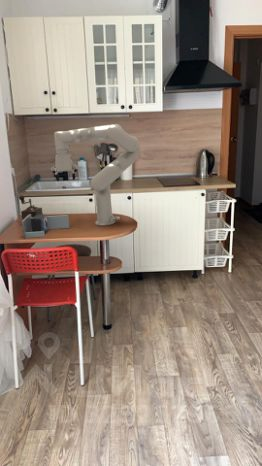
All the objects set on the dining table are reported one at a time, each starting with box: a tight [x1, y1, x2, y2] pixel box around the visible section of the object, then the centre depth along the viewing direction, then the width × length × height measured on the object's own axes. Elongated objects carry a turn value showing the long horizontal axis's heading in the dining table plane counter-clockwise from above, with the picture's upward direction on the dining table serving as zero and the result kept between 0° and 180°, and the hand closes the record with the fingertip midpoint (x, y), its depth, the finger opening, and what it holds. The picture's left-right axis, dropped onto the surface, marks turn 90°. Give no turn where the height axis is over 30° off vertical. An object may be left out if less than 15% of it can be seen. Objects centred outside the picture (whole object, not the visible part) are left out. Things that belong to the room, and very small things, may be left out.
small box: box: [30, 214, 50, 235], centre depth 226 cm, size 11×6×10 cm, turn 170°
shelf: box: [20, 214, 71, 239], centre depth 227 cm, size 24×17×10 cm
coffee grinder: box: [18, 195, 44, 221], centre depth 252 cm, size 16×11×18 cm
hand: (66, 180), depth 234 cm, fingers open, 9 cm apart
